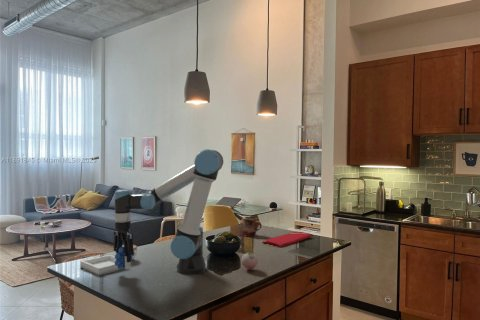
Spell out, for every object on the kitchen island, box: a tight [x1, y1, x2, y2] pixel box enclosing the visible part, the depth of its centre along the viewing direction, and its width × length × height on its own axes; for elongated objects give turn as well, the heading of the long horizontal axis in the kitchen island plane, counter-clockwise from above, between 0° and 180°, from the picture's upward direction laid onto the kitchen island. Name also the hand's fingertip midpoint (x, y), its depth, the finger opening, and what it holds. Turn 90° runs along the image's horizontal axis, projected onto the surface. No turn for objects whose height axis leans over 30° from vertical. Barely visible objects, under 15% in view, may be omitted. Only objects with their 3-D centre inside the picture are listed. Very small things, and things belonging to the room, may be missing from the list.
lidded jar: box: [122, 244, 138, 260], centre depth 204 cm, size 11×11×9 cm
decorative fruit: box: [240, 251, 259, 271], centre depth 189 cm, size 9×8×10 cm
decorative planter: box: [239, 216, 262, 237], centre depth 272 cm, size 20×12×14 cm, turn 55°
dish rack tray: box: [79, 254, 126, 276], centre depth 191 cm, size 19×17×4 cm
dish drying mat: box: [261, 231, 313, 248], centre depth 257 cm, size 16×41×4 cm, turn 137°
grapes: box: [114, 247, 134, 270], centre depth 179 cm, size 12×7×12 cm, turn 146°
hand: (123, 266), depth 179 cm, fingers closed on grapes, 7 cm apart
